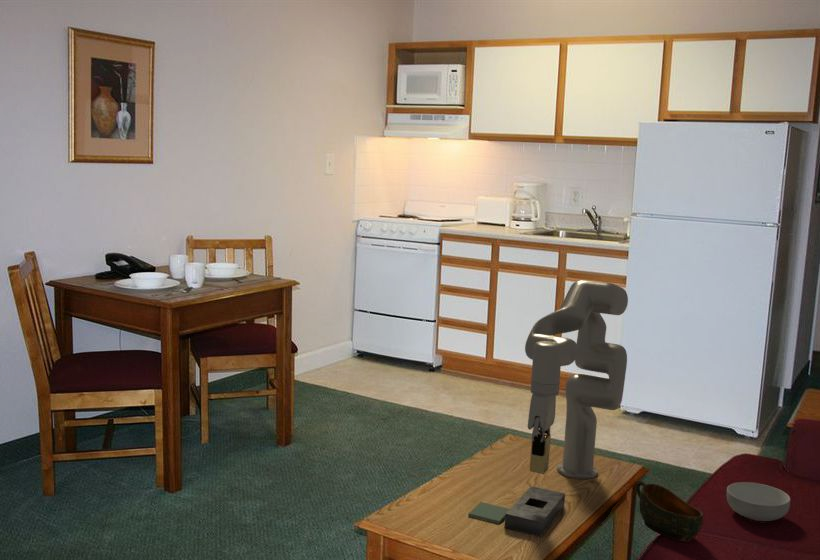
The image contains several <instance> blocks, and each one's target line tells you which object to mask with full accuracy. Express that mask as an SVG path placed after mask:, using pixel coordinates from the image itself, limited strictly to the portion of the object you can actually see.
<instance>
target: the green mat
mask: <svg viewBox="0 0 820 560" xmlns="http://www.w3.org/2000/svg"><path fill="white" fill-rule="evenodd" d="M509 509H510V508H507V507H503V506H499V505H495V504H491V503H488V502H487V503H486V502H483V501H480V502H479V503H478V504H477V505H476V506H475V507H473V509H471V510H470V512H468V517H469V518H470V517H471V518H475V519H477V520H478V519H479V520H482V521H487V522H490V523H494V524H498V525H499V524H501V523H502V522H503V521H504V520H505V513H506V512H507V511H508V510H509Z"/></svg>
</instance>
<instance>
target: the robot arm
mask: <svg viewBox="0 0 820 560" xmlns="http://www.w3.org/2000/svg"><path fill="white" fill-rule="evenodd" d="M628 301H629V297H628V293H627V291H626V289H625V288H624V287H621V286H619V285H616V284H614V283H612V282H604V281H595V280H585V279H583V280H576V281H574V282H573V283H572V284H571V285H570V287H569V289H568V291H567V293H566V295H565V297H564V299H563V301H562V303H561V305H560V307H559V309H557V310H553V312H551V313H548V314H547V315H545V316H543V317H541V318H540V319H538V320H537V321H536V322H535V323H534V324H533V326H532V328H531V330H530V332H529V334H528V336H527V339H526V341H525V345H524V352H525V355H526V357H528V358H529V360H531V361H532V367H531V379H530V393H531V394H532V395H531V398H530V404H529V411H528V420H527V429H528V430H530V431H531V430H532V433H531V435H532V436H533V443H532V442H531V444H532V454H533V455H537V456H543V455H544V445H545V442H543V441H544V433H545V434H550V435H551V428H552V426H553V425H554V423H555V420H556V419H555V418H556V407H557V406H556V403H557V400H556V399H557V396H559V392H560V382H561V370H562V367H566V366H570V365H571V364H573V363H574V364H575V366H576V367H577V368H578V369H581V370H584V371H589V372H594V373H600V374H607V376H608V378H607V377H601V376H596V375H591V374H590V375H589V374H585V373H584V374H583V373H576V374H572V375H570V376H568V378H567V379H566V382H565V388H564V389H565V400H566V411H565V412H566V414H565V415H566V416H565V427H564V428H565V429H564V440H563V441H564V442H563V452H562V453H563V454H562V462H560V463H558V464H557V468H556V469H557V471H558V473H559V474H560V475H562V476H563V475H564V476H565V477H568V478H573V479H579V480H582V479H584V480H586V479H587V480H588V479H593V478H595V477H597V476H598V473H599V472H598V471H599V470H598V469H597V468H596V467H595V466H594V461H595V460H594V458H595V448H596V447H595V446H596V435H597V427H598V425H597V424H598V421H597V419H598V418H597V416H596V413H595V412H594V410H593V408H596V409H602V410H607V411H608V410H609V411H615V410H618V409H619V408H620V407H621V404H622V401H623V395H624V390H625V389H624V388H625V380H626V375H627V374H626V373H627V366H628V353H627V350H626V348H625V347H624V346H622V345H621V344H617V343H612V342H606V334H607V324H606V321H605V319H604V317H603V316H602V314H605V315H612V316H622V314H624V313H625V311H626V310H627V308H628V303H629V302H628ZM575 331H577V336H576V337H577V338H576V341H574V340H573V339H571V338H568V337H561V336H558V335H560V334H561V335H562V334H566V333H571V332H575ZM556 335H557V336H556ZM538 432H539V433H541V435H540V434H539V433H538ZM532 436H531V437H532Z"/></svg>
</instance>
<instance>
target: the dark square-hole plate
mask: <svg viewBox="0 0 820 560" xmlns="http://www.w3.org/2000/svg"><path fill="white" fill-rule="evenodd" d="M565 500H566V493H564V492H559V491H555V490H550V489H547V488H542V487H538V486H534V485H531V486H530V487H529V488H528V489H527V490H526V491H525V492H524V493H523V494H522V496H520V497H519V498H518V500H517V501H516V502H515V503H514V504H513V505H512V506H510V508H508V509H509V510H508V511H507V512H506V513H505V518H504V529H509V530H513V531H516V532H521V533H525V534H528V535H533V536H535V537H542V536H543V535H544V533H545V532H546V531H547V530H548V529H549V527H550V525H552V523H553V522H554V521H555V520H556V518H557V516H558V515H559V514H560V513H561V511H562V510H563V509H564V508H565V502H566V501H565Z"/></svg>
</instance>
